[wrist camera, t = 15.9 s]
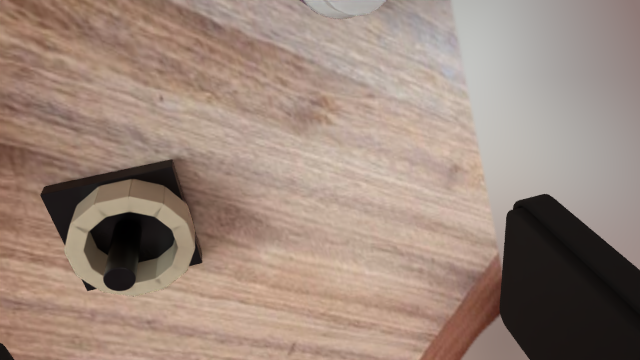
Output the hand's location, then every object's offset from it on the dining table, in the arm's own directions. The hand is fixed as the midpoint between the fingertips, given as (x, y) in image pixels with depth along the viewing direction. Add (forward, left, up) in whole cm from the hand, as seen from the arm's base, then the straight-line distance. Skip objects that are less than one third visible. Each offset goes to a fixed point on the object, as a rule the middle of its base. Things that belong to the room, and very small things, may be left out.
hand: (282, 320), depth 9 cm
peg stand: (+10, +14, -27) cm, 32 cm away
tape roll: (+9, +14, -26) cm, 30 cm away
